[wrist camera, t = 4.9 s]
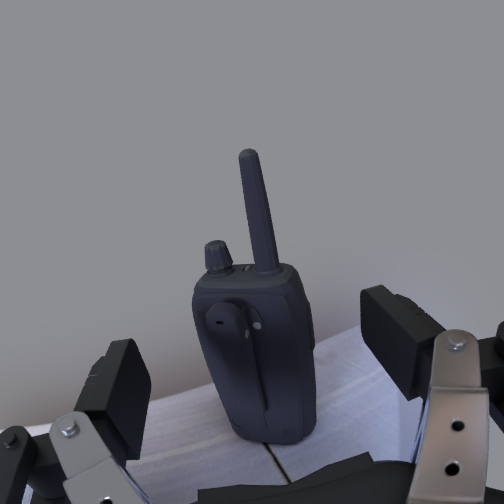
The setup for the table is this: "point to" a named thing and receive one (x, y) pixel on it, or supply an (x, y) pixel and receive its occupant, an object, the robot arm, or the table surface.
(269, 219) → the two-way radio
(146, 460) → the table surface
